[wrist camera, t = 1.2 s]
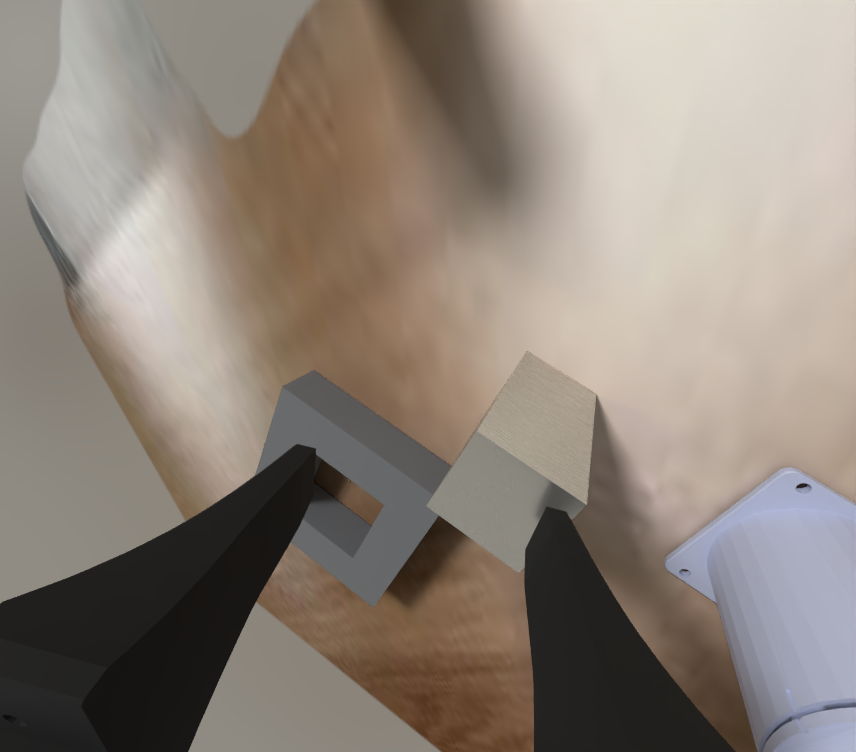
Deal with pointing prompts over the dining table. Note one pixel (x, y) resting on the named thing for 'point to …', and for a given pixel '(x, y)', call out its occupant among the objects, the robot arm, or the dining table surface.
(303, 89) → the dining table surface
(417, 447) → the frame
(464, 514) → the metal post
